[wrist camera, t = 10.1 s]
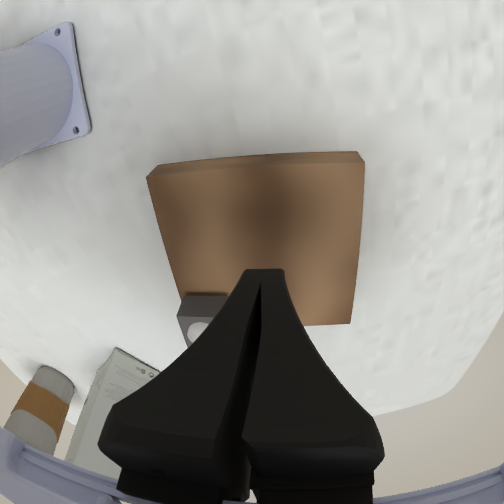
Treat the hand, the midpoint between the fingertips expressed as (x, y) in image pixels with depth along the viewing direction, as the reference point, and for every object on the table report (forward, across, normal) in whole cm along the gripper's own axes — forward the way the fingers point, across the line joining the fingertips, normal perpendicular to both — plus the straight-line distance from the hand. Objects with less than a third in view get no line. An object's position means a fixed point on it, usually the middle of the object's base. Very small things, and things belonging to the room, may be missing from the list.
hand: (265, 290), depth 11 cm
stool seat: (+9, +1, +9) cm, 13 cm away
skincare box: (+10, +18, +21) cm, 29 cm away
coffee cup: (+10, +33, +27) cm, 43 cm away
